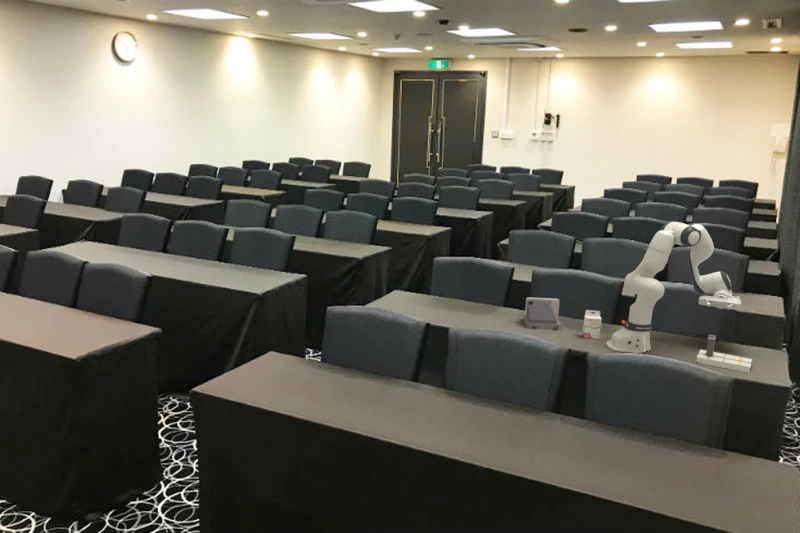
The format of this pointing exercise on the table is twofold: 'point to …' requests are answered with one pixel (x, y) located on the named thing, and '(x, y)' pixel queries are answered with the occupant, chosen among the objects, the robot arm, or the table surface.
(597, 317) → the ink cartridge box
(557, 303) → the tablet on stand
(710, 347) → the fader knob
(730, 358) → the fader console
